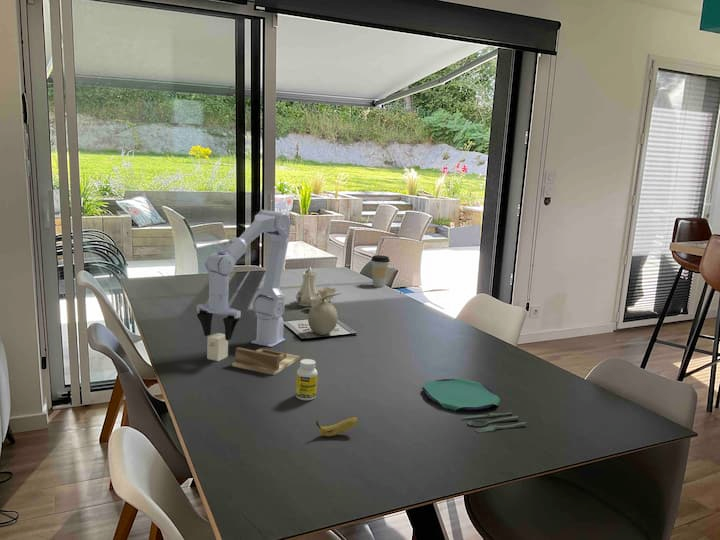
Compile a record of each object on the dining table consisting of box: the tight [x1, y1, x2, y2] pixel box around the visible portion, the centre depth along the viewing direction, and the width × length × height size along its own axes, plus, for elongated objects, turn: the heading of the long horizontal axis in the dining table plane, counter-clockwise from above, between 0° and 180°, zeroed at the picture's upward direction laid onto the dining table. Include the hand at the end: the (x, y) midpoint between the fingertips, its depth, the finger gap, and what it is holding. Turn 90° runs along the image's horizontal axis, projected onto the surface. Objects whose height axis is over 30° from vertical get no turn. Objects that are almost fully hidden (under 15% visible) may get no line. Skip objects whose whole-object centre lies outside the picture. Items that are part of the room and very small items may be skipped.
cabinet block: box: [206, 332, 229, 362], centre depth 179 cm, size 6×4×7 cm
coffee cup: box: [371, 254, 391, 288], centre depth 297 cm, size 9×9×15 cm
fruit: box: [307, 292, 342, 336], centre depth 209 cm, size 10×12×15 cm
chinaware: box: [295, 266, 337, 308], centre depth 251 cm, size 28×17×17 cm, turn 179°
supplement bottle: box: [295, 358, 318, 401], centre depth 154 cm, size 5×5×10 cm
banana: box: [315, 416, 359, 437], centre depth 134 cm, size 10×2×4 cm, turn 109°
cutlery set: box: [421, 378, 528, 433], centre depth 156 cm, size 20×30×2 cm, turn 19°
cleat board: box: [231, 347, 301, 376], centre depth 178 cm, size 16×14×5 cm
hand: (217, 337), depth 179 cm, fingers open, 7 cm apart
